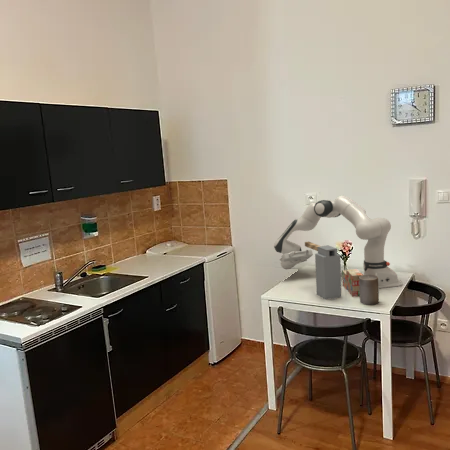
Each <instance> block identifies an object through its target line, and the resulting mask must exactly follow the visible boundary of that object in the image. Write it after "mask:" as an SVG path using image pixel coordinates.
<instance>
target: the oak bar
mask: <svg viewBox="0 0 450 450" xmlns="http://www.w3.org/2000/svg"><path fill="white" fill-rule="evenodd" d="M319 246H320V245H319V244H317V243H314V242H311V241H304V247H305V248H308V249H310V250H312V251H316V252H318V247H319Z"/></svg>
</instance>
